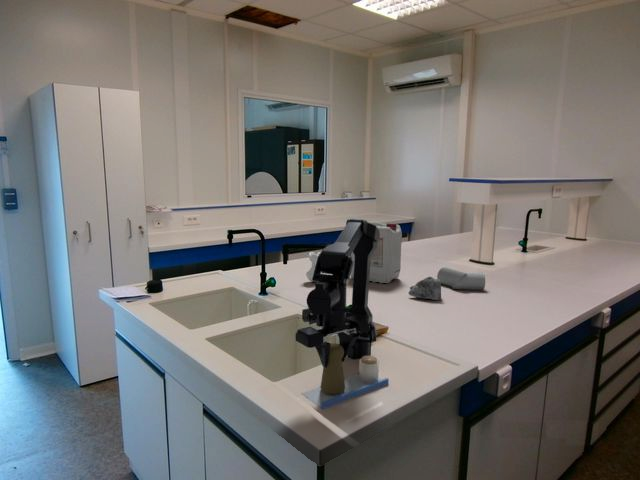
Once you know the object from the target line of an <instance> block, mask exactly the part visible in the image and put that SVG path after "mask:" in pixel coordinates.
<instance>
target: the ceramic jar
mask: <svg viewBox="0 0 640 480" xmlns="http://www.w3.org/2000/svg"><path fill="white" fill-rule="evenodd" d="M358 360H359V361H358V362H359V366H358V369H359V370H358V373H359V380H360V381H361V382H363V383H367V384H371V383H374V382H376V381H378V378H379V374H380V373H379V371H380V370H379V367H380V366H379V365H380V364H379V363H380V361H379V359H378V358H377V357H376V356H373V355H369V356H363V357H362V358H361V359H358Z"/></svg>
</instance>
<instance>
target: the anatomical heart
mask: <svg viewBox="0 0 640 480" xmlns="http://www.w3.org/2000/svg"><path fill="white" fill-rule="evenodd" d="M320 253H321V251H320V252H319V251H318V252H317V253H315V252H313V251H310V252H309V254H308V260H309V261H310V262H311V267H310V269H309V270H308V271H306V274H305V275H306V278H307V280H308V281H310V282H314V281H313V280H312V278H313V274H314V270H315V266H316V263H317V259H318V256H319V254H320ZM320 274H324V273H322V271H321V273H320ZM317 282H318V281H316V283H317Z"/></svg>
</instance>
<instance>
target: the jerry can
mask: <svg viewBox="0 0 640 480" xmlns="http://www.w3.org/2000/svg"><path fill="white" fill-rule="evenodd" d="M367 222H368V223H370V224H373V225H375V226H376V227H377V228H378V229H379V232H380V237H379V241H378V242H377V248H376V249H375V251H374V252H373V254H372V255H371V259H370V276H369V281H372V282H371V283H376V282H379V283H378V284H382V283H387V284H390V283H391V282H392V280H397V279H398V278H399V277H400V272H401V261H402V242H403V241H402V240H403V233H402V229H401V226H400V225H399V224H397V223H394V222H387V223H382V222H379V221H378V222H377V221H376V222H375V221H367ZM351 257H352V261H353V268H352V271H351V275H350V278H351V279H353V277H354V260H355V255H354V253H353V252H352V254H351Z"/></svg>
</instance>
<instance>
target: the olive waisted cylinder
mask: <svg viewBox="0 0 640 480" xmlns="http://www.w3.org/2000/svg"><path fill="white" fill-rule="evenodd" d="M329 343H330V342H329ZM330 344H331V346H330V352H329V359H328V364H327V367H326V368H325V367H323V366H322V375H321V382H320V386H319V387H320V388H321V390H322V391H323V392H325V393H329V394H337V393H341V392H343V391H344V390H345V383H344V378H345V376H344V369H343V368H344V367H343V362H342V358H343V355H344V349H343V347H342V346H341V345H340V344H339V343H337V342H336V343H335V342H331V343H330Z"/></svg>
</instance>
